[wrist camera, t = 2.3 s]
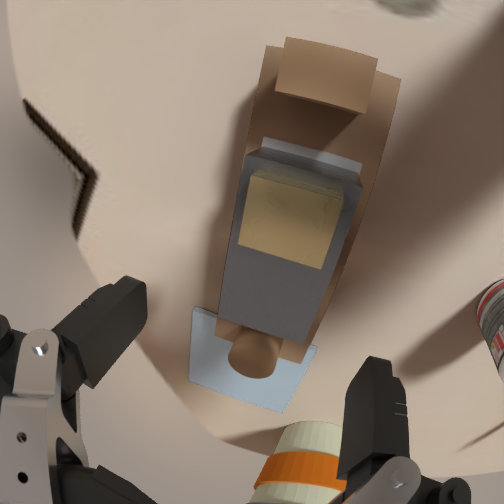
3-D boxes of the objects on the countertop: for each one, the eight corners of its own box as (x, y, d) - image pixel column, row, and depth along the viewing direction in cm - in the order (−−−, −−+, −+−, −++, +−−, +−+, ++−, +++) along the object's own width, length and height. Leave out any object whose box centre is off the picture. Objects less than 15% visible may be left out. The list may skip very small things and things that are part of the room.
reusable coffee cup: (262, 442, 37) (231, 526, 24) (283, 403, 31) (247, 517, 18) (338, 459, 35) (321, 543, 22) (378, 424, 29) (367, 533, 16)
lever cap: (263, 146, 15) (235, 158, 11) (357, 172, 14) (365, 195, 10) (235, 286, 19) (209, 330, 15) (310, 310, 18) (299, 360, 14)
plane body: (282, 59, 16) (245, 27, 9) (387, 87, 15) (419, 69, 8) (232, 302, 26) (195, 368, 19) (308, 327, 25) (292, 401, 18)
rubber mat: (195, 306, 27) (193, 310, 27) (317, 346, 26) (316, 351, 25) (190, 377, 33) (188, 380, 33) (283, 409, 32) (282, 413, 31)
